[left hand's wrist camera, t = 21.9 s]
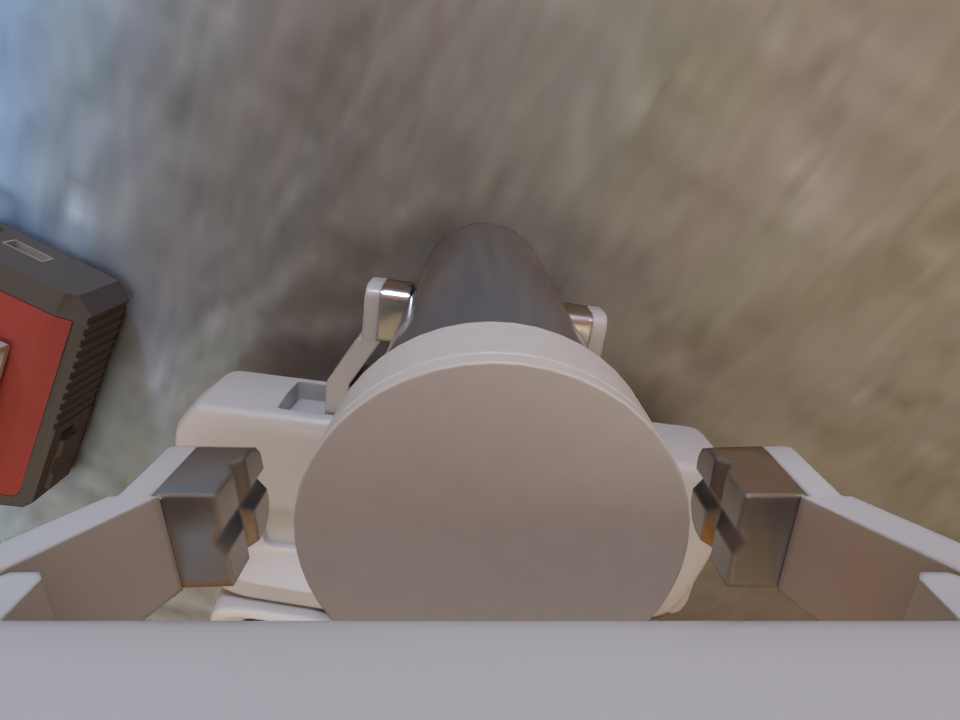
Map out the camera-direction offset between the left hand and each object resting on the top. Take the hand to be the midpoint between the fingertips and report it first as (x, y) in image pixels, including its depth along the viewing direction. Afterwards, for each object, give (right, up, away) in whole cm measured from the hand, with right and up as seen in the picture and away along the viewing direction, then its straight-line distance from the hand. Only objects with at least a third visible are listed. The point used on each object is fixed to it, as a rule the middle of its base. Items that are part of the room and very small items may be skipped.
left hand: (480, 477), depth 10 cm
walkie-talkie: (-23, 0, +16) cm, 28 cm away
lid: (0, 0, -2) cm, 2 cm away
